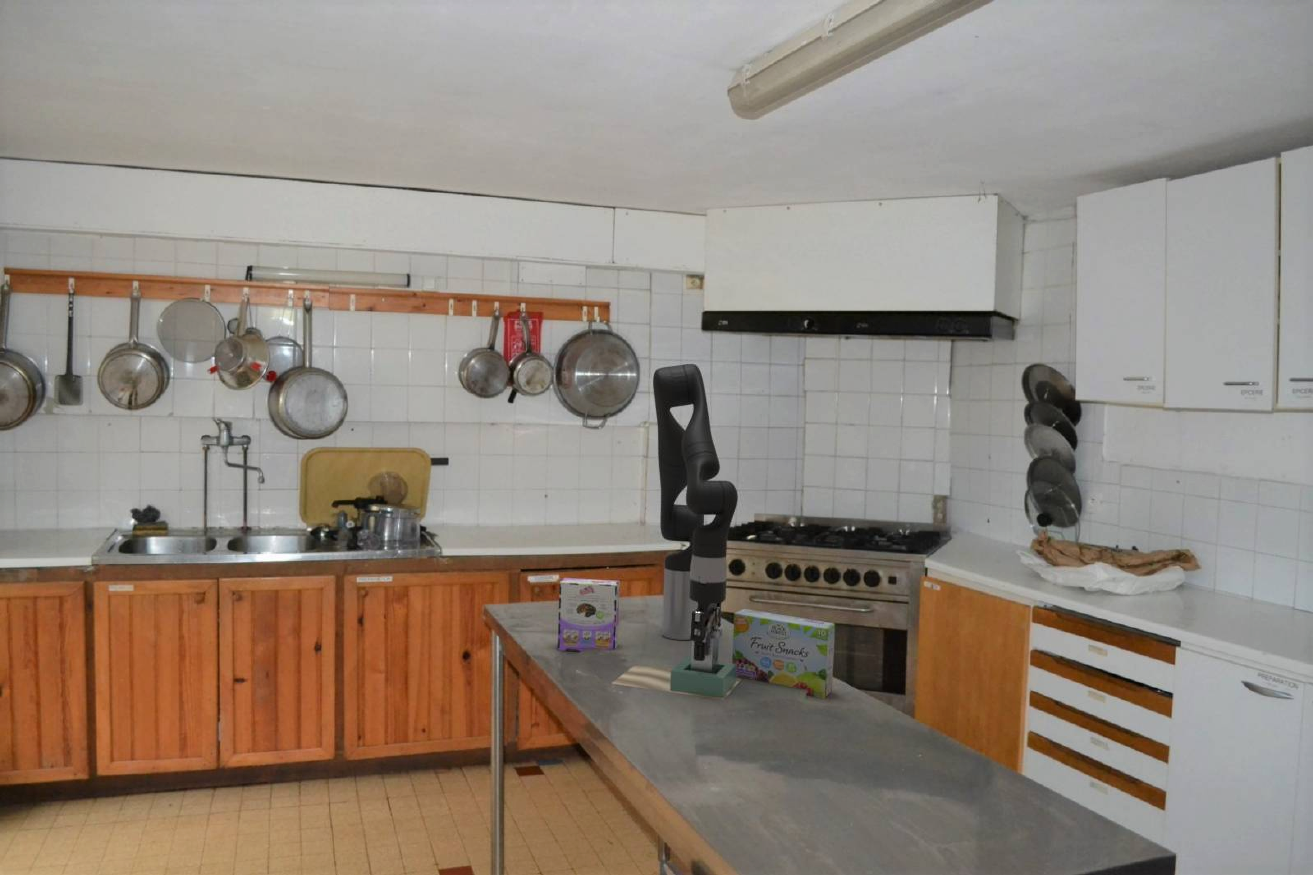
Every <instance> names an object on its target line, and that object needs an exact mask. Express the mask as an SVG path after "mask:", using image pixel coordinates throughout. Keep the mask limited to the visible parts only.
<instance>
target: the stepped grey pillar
mask: <svg viewBox="0 0 1313 875" xmlns="http://www.w3.org/2000/svg"><path fill="white" fill-rule="evenodd" d="M689 634H691V627H690V629H689ZM698 635H700V632H698ZM722 636H723V629H720V628H719V629H712V628H711V630H710V633H708V634H707V638H706V647H705V659H704V660H703V661H697V660H694V642H693V641H691V649H690V650H691V651H690V658H691V669H690V671H697V672H704V673H711V674H717V668H718V661H719V642H720V639H719V638H721V637H722Z"/></svg>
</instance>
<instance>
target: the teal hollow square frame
mask: <svg viewBox="0 0 1313 875" xmlns="http://www.w3.org/2000/svg"><path fill="white" fill-rule="evenodd" d="M690 669H691V657H689V656H687V657H685V658H684V659H682V661H681V662H679V664H677V665H676V666H675V667H673V669H672V670H671V682H670V690H671V691H678V692H685V693H692V694H699V695H705V696H712V697H719V698H723V697H724V696H725V695H726V693H727V692H728V691H729V690H730V689H731V688H732V687H733V686H734V684H735V683H736V678H737V676H736V672H737V664H733V663H732V662H725V661H719V660H718V668H717V674H711V673H704V672H697V671H690Z"/></svg>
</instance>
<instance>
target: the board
mask: <svg viewBox="0 0 1313 875" xmlns="http://www.w3.org/2000/svg"><path fill="white" fill-rule="evenodd" d="M671 670H673V669H672V668H665V667H664V668H663V667H657V666H651V665H650V666H649V665H643V664H635V665H633V666H632V667H630V668H629V669H628V670H627V671H625V672H624V673H623V674H622V675H620V676H619V677H617V678H616V679H615V680H613V681H612V682H611V684H613V685H619V686H625V687H631V688H638V689H639V688H640V689H646V690H653V691H658V692H659V691H660V692H666V693H673V694H680V695H687V696H693V697H700V698H701V697H702V698H707V699H714V700H721V701H724V700H725V699H726V698H727V697H728V696H729V695H730V693H731V692H732V691H733V690H735V688H736V687H737V685H739V683H740V682H741V681H742V680H743V678H737V677H736V683H735V684H734V686H733V687H732V688H731V689H730V690H729V691H728V692H727V693H726V695H725V696H724V697H723V698H719V697H712V696H705V695H699V694H692V693H685V692H678V691H671V690H670V682H671Z"/></svg>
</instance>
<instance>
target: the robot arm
mask: <svg viewBox="0 0 1313 875" xmlns="http://www.w3.org/2000/svg"><path fill="white" fill-rule="evenodd" d="M701 372H702V371H701V370H700V367H699V366H698V365H697V364H696V363H695V364H694V363H685V364H678V365H670V366H664V367H660V368H659V367H658V368H657V369H655V371H654V373H653V378H652V389H653V399H654V405H655V415H656V423H657V424H656V425H657V457H658V471H659V472H658V473H659V482H660V518H659V519H660V524H659V525H660V533H661V536H662V537H663V539H664V540H667V541H669V542H670V541H671V542H684V543H685V542H686V543H689V546H687V547H686V548H685V549H683V550H680V551H677V552H674V553H671V554H669V555H667V556H666V557H665V559H664V570H663V571H664V573H663V574H664V575H663V576H664V577H663V600H662V601H663V602H662V621H661V626H662V627H661V635H662V637H664V638H666V639H670V640H678V641H682V640H683V641H686V640H689V641H691V642H692V641H693V642H694V660H697V661H703V660H704V659H705V647H706V638H707V634H708V633H710V630H711V628H712V629H720V627H721V625H722V623H721V622H722V604H723V602H725V601H726V598H727V577H728V576H727V575H728V574H727V573H728V564H727V562H728V560H727V549H728V536H729V532H730V528H731V523H732V521H733V517H734V515H735V512H736V509H737V506H738V501H739V496H738V490H737V488H736V486H735V484H734V483H732V482H731V481H729V480H712V479H714V478H716V477H717V475H718V474H719V473H720V470H721V465H720V460H719V458H718V454H717V450H716V446H715V444H714V439H713V436H712V431H711V423H710V414H709V407H708V401H707V396H706V388H705V384H704V383H705V382H704V379H703V376H702V373H701ZM690 405H692V407H693V408H692V414H691V417H690V420H689V422H688V424H687V426H686V428H685V429H684V428H683V427H682V425H681V424H680V423H679V422H678V421H677V420H676V418H675V417H674V416H673V415H674V414H673V413H672V412H671V409H672V408H677V407H684V406H690ZM685 489H686V490H685ZM684 490H685V491H686V494H685V495H686V496H685V503H686V504H676V500H677V499H678V498H679V495H680V494H681V493H682V492H683V491H684ZM713 515H714V518H713V519H712V521H711V522H710V523H708V524H707V523H706V524H705V516H713ZM690 627H691V634H689V629H690ZM698 632H700V635H698Z"/></svg>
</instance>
